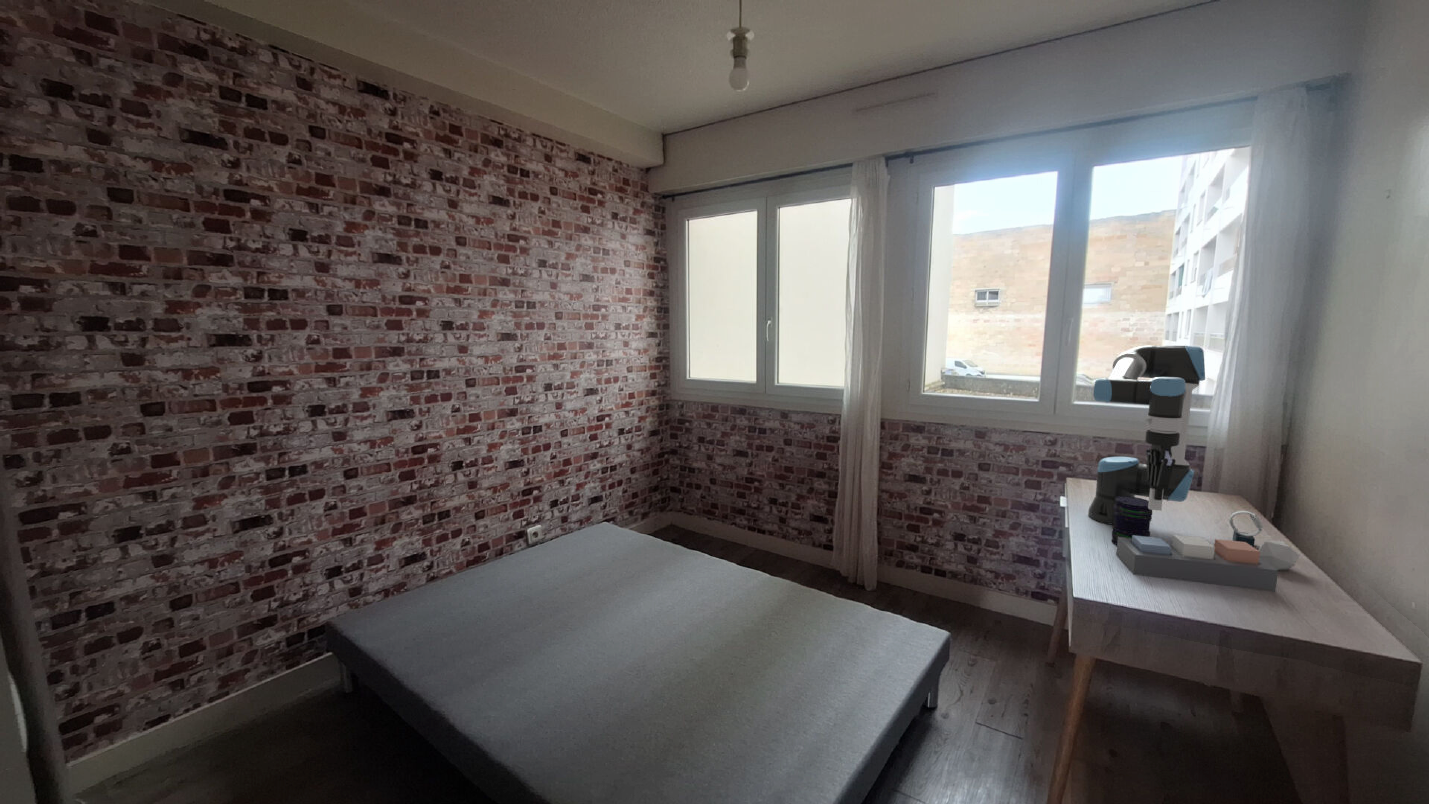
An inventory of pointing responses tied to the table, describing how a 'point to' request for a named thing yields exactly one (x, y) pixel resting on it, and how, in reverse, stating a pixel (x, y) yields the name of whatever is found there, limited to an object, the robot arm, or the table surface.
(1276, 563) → the die
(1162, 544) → the slate blue key
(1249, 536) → the watch
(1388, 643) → the table surface
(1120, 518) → the storage jar
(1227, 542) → the terracotta key
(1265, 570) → the keypad housing
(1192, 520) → the table surface
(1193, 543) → the white key
